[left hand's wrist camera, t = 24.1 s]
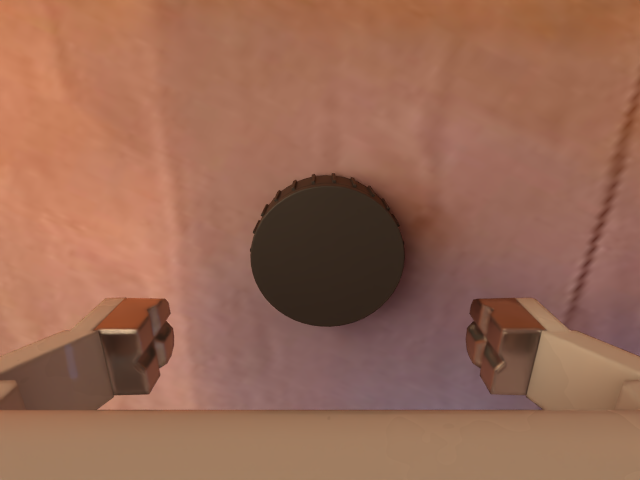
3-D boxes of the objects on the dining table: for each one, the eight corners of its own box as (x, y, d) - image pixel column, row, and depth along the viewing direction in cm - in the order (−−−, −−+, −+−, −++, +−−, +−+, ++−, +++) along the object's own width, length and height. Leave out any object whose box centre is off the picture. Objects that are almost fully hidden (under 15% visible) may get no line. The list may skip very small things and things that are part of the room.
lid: (234, 270, 14) (224, 291, 13) (293, 146, 13) (290, 153, 11) (354, 323, 15) (357, 349, 14) (424, 213, 14) (437, 228, 12)
